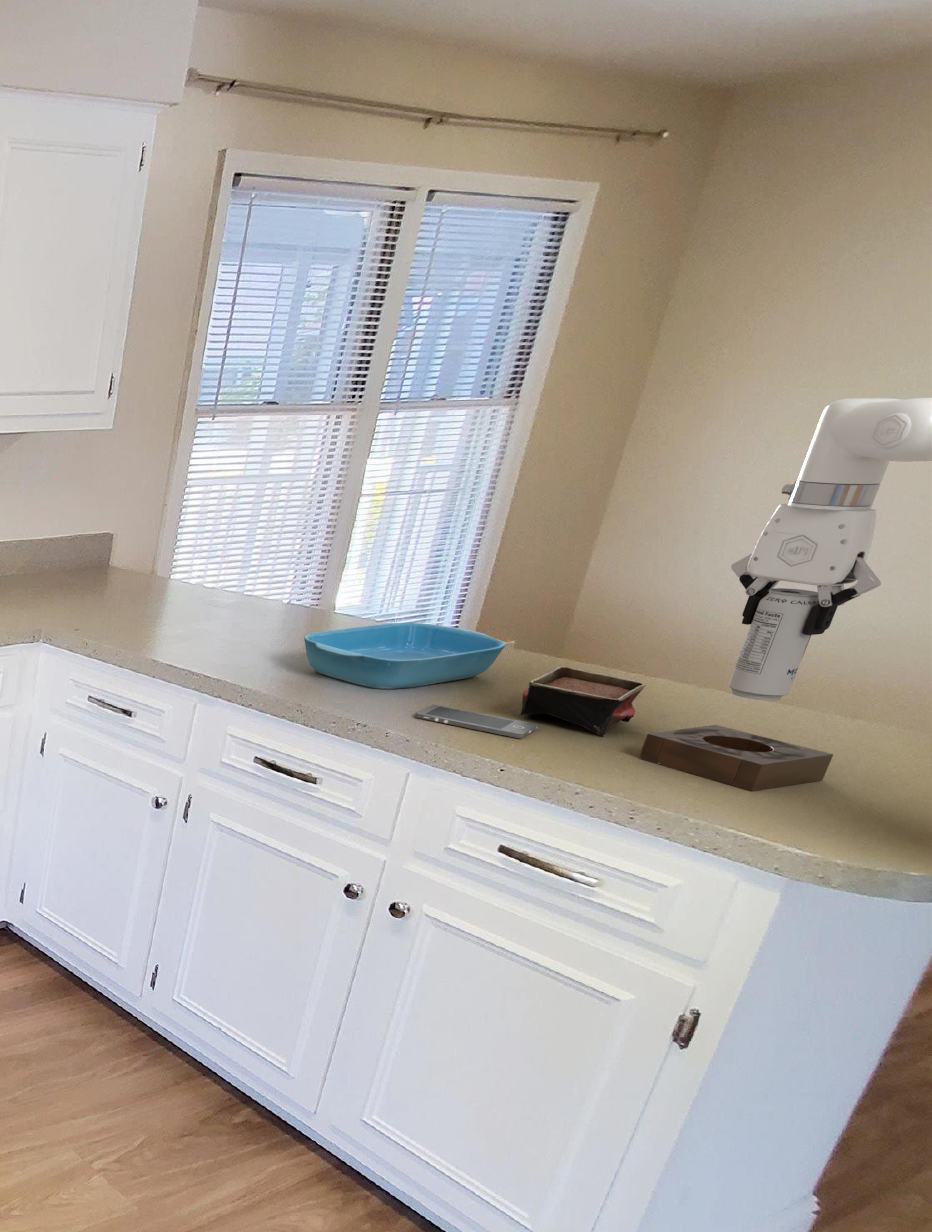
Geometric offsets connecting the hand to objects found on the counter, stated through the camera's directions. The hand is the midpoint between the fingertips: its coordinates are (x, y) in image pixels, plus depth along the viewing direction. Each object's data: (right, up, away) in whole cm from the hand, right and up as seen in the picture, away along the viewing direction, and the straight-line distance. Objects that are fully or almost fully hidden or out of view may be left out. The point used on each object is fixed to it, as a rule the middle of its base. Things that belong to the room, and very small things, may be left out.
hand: (781, 627), depth 142 cm
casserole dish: (-12, -1, +58) cm, 59 cm away
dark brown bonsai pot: (-3, -12, +29) cm, 32 cm away
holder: (0, -20, +8) cm, 21 cm away
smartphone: (-20, -12, +29) cm, 37 cm away
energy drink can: (0, -9, +4) cm, 10 cm away
